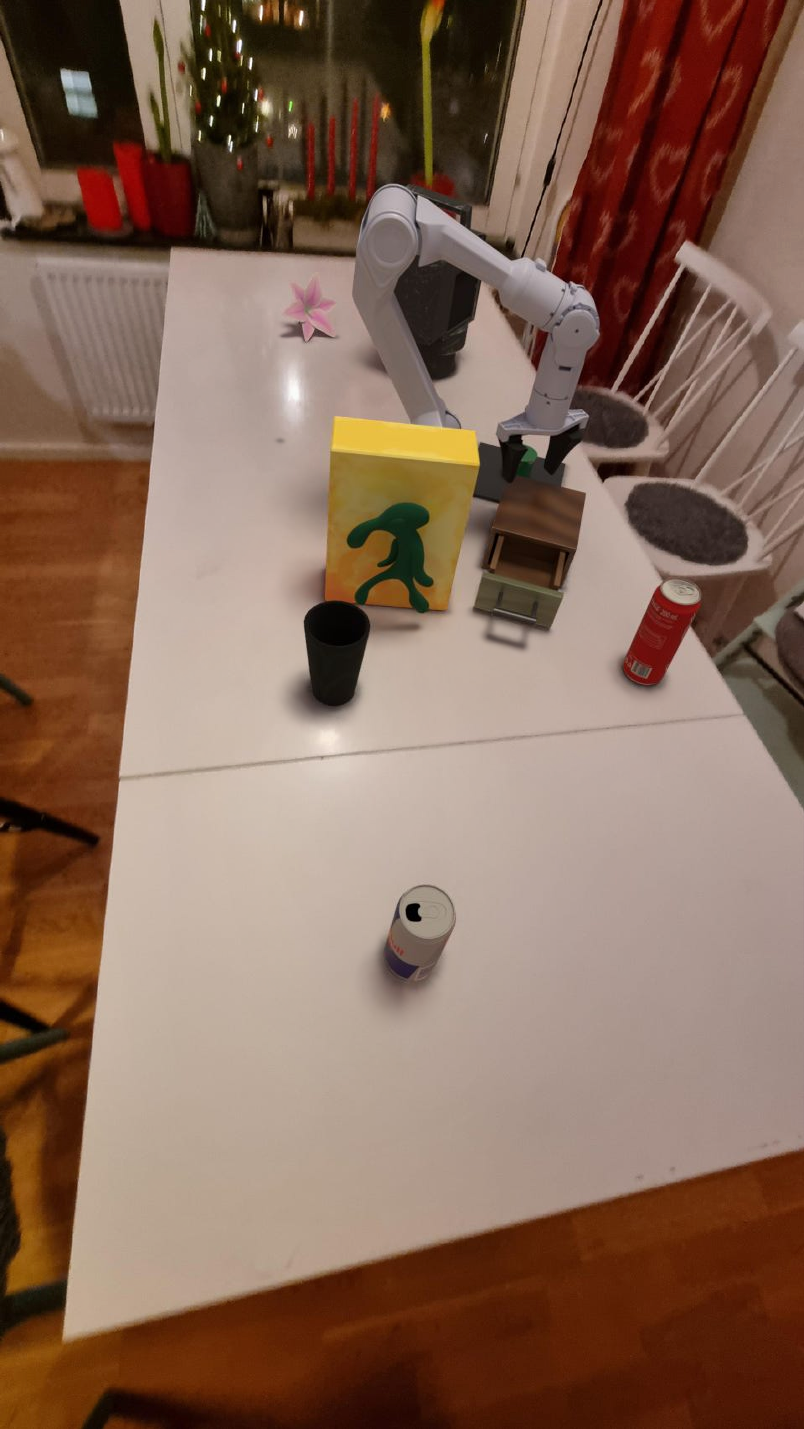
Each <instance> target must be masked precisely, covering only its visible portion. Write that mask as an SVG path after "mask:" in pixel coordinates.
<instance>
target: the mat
mask: <svg viewBox="0 0 804 1429" xmlns="http://www.w3.org/2000/svg"><path fill="white" fill-rule="evenodd" d="M478 453H479V461H480V467H479V471H478V476H477V480H476V484H475V489H474V493H473V497H474V498H478V499H481V500H486V501H490V502H494V503H498V504H499V502H500V499H501V496H502V493H503V489H504V486H505V483H506V480H505V479H504V478H503V477H502V454H501V448H500V446H497V445H493V444H490V443H486V442H482V441H480V442H479V445H478ZM544 461H545V457H541V456H537V459H536V460H535V462H534V465H533V469H532V472H531V475H530V479H534V480H538V481H541V482H545V483H549V484H553V485H557V486H561V487H562V484H563V483H562V482H563V479H564V474H565V469H566V465H567V464H566V463H565V462H562V463H561V464H560V466H559V467H558V469H557V470H556V472H555V473H554V475H550V474H549V473H548V472H547V471H546V470H545V469H544Z"/></svg>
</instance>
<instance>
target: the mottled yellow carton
mask: <svg viewBox="0 0 804 1429" xmlns="http://www.w3.org/2000/svg"><path fill="white" fill-rule="evenodd" d="M478 447H479V445H478V439H477V432H476V430H471V429H462V428H461V429H453V428H443V427H434V426H424V425H415V424H411V423H403V422H395V421H385V420H376V419H375V420H374V419H367V418H359V417H357V418H356V417H349V416H348V417H347V416H338V415H335V416H333V418H332V430H331V439H330V449H329V477H328V501H327V503H328V504H327V505H328V506H327V528H326V529H327V530H326V556H325V557H326V559H325V583H324V584H325V585H324V586H325V587H324V588H325V589H324V601H325V602H326V601H334V600H337V601H345V602H349V603H352V604H357V606H364V605H369V606H370V605H371V606H372V605H373V606H385V607H395V608H396V607H397V608H410V609H411V608H412V609H414V611H416V612H417V613H419V614H425V613H427V612H428V610H433V611H434V610H435V611H447V609H448V606H449V601H450V597H451V593H452V588H453V584H454V581H455V580H454V579H455V574H456V570H457V568H458V567H457V566H458V563H459V557H460V554H461V550H462V545H463V541H464V536H465V532H466V527H467V524H468V519H469V515H470V510H471V506H472V501H473V497H474V496H473V493H474V489H475V484H476V480H477V476H478V471H479V467H480V461H479V453H478Z"/></svg>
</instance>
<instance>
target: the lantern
mask: <svg viewBox="0 0 804 1429" xmlns="http://www.w3.org/2000/svg"><path fill="white" fill-rule="evenodd" d="M404 187H406V188H407V189H408V190H410V191H411V192H412V194H413V195H414V196H415V198H416V200H417V197H418V195H419V196H421V197H424V198H426V199H428V200H429V201H430V202H432V203H433V204H434V205H436V206H437V207H438V208H440V209H441V210H442V211H447V212H449V213H452V214H455V215H457V216H459V223H460V224H461V225H463V226H464V227H465V228H467V229H468V230H469V231H471V232H472V233H474V234H475V235H476V236H478V237H479V238H480V239H482V240H483V241H484V242H486V243H487V242H488V234H486V233H484V232H482V231H479V230H476V229H473V228H472V217H473V205H471V204H468V203H467V202H465V201H462V200H459V199H456V198H453V197H451V196H448V195H445V194H442V193H439V192H437V191H434V190H432V189H428V188H425V187H422V186H420V185H417V184H411V183H408V184H407V185H405V186H404ZM418 263H419V255H416V256H415V258H414V260H413V261H412V263H411V264H410V265H409V267H408V268H407V269H406V270H405V271H404V272H403V273H402V275H401V276H400V277H399V278H398V281H397V284H396V286H395V289H394V291H393V292H394V294H395V296H396V299H397V301H398V303H399V306H400V308H401V310H402V313H403V315H404V317H405V320H406V322H407V324H408V327H409V329H410V331H411V334H412V336H413V338H414V340H415V343H416V345H417V347H418V350H419V352H420V354H421V357H422V359H423V361H424V364H425V366H426V368H427V371H428V373H429V375H430V378H431V380H440V379H444V378H447V377H448V376H450V375H451V374H452V373H453V371H454V367H455V362H456V356H457V353H458V352H460V351H462V350H463V348H464V347H465V345H466V341H467V340H466V339H467V335H468V329H469V325H470V324H471V323H472V322H473V321H475V320H476V319H475V318H476V312H477V309H478V308H477V307H478V302H479V296H480V291H481V287H482V286H481V285H482V281H481V280H479V279H478V278H476V277H474V276H472V275H470V274H469V273H467V272H465V271H463V270H461V269H460V268H458V267H456V266H454V265H452V264H450V263H449V262H447V261H445V260H439V261H436V262H433V263H430V264H427V265H425V266H421V267H419V266H418Z"/></svg>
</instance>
